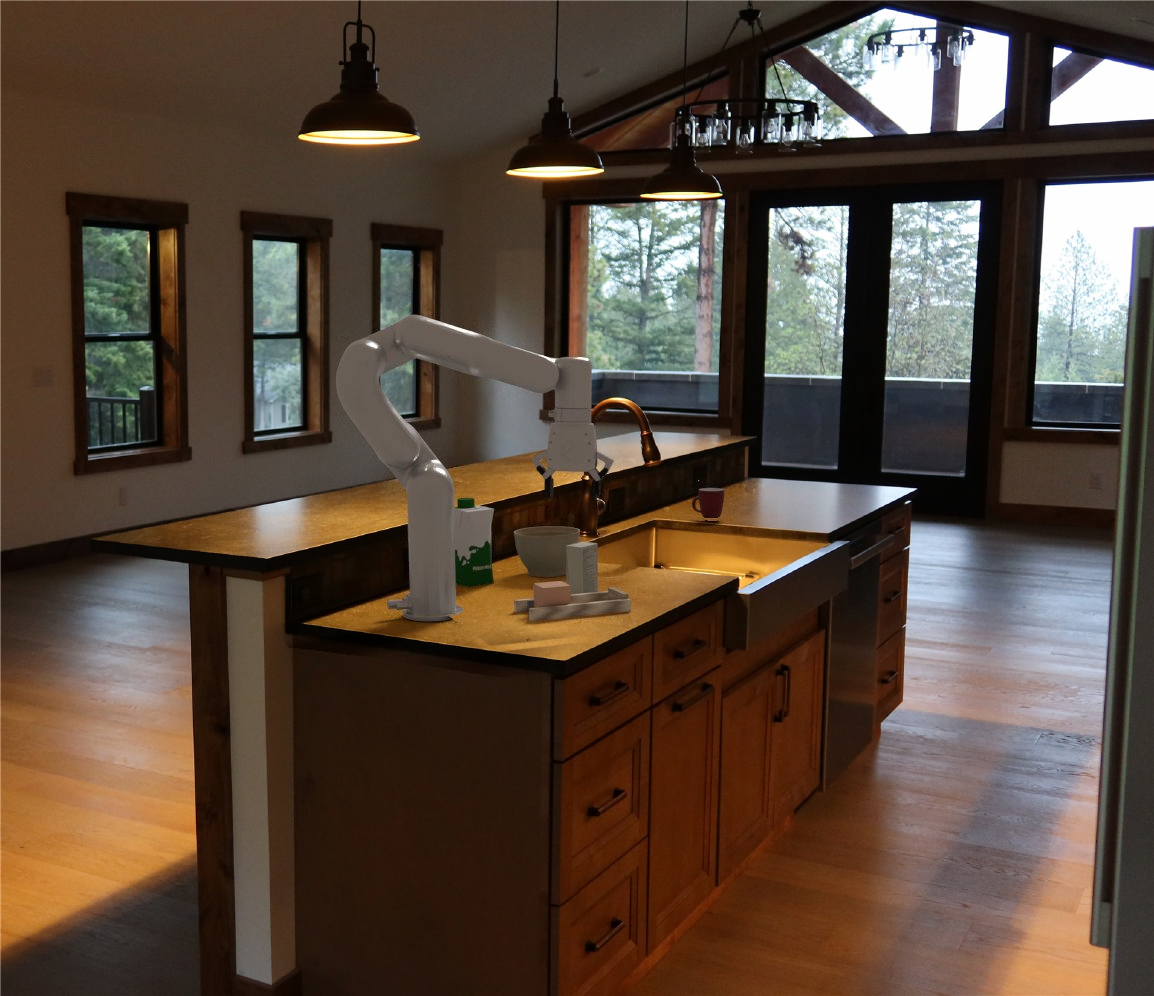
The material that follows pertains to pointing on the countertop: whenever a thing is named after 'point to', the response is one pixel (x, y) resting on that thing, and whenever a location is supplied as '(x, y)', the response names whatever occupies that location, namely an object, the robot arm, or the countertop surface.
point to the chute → (578, 605)
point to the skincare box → (582, 567)
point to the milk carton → (472, 543)
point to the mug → (710, 502)
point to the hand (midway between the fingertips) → (572, 498)
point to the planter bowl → (545, 549)
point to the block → (551, 593)
